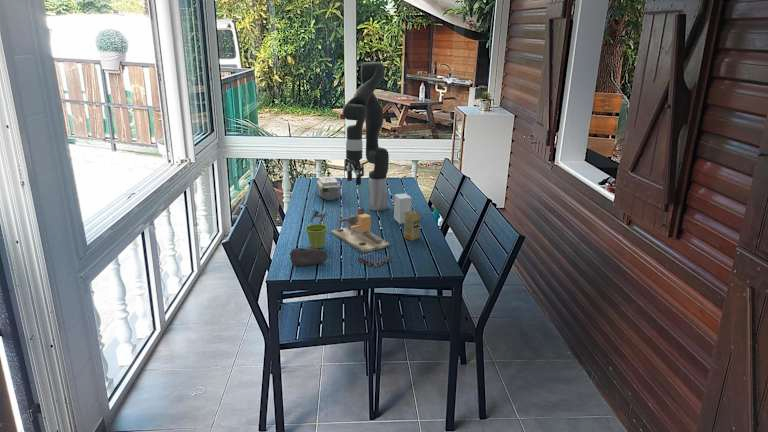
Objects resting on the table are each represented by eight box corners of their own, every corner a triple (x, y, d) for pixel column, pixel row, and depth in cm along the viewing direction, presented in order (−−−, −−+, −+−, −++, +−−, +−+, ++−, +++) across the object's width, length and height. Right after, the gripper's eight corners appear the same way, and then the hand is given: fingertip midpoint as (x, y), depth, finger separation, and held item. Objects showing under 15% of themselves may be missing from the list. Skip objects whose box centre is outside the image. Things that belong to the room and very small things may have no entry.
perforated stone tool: (327, 260, 210) (327, 244, 207) (328, 265, 205) (328, 249, 202) (290, 262, 207) (289, 246, 205) (290, 268, 202) (289, 252, 200)
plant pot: (318, 252, 217) (318, 233, 215) (301, 247, 222) (300, 228, 219) (332, 245, 225) (331, 226, 222) (315, 240, 230) (314, 222, 227)
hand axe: (346, 209, 272) (364, 207, 272) (346, 212, 273) (365, 210, 273) (341, 225, 247) (362, 223, 246) (342, 229, 247) (362, 227, 247)
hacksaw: (314, 212, 268) (314, 210, 267) (334, 213, 267) (334, 210, 267) (305, 229, 245) (305, 226, 244) (326, 229, 244) (326, 226, 244)
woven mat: (356, 261, 210) (356, 256, 209) (374, 254, 217) (374, 249, 216) (373, 269, 203) (373, 264, 202) (392, 261, 210) (392, 257, 209)
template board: (357, 227, 246) (357, 213, 244) (390, 246, 224) (390, 231, 222) (331, 232, 239) (331, 218, 237) (362, 252, 217) (362, 237, 215)
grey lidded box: (321, 202, 280) (320, 185, 278) (315, 191, 307) (314, 175, 304) (342, 201, 283) (342, 183, 280) (335, 190, 310) (334, 174, 307)
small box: (411, 222, 253) (412, 197, 249) (399, 224, 251) (400, 198, 247) (405, 217, 260) (405, 193, 256) (393, 218, 258) (394, 194, 254)
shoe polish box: (419, 237, 234) (420, 213, 230) (411, 240, 231) (412, 215, 227) (411, 235, 237) (411, 210, 233) (403, 237, 234) (404, 212, 230)
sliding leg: (366, 230, 236) (366, 213, 233) (370, 232, 233) (370, 216, 230) (348, 233, 231) (348, 217, 228) (353, 236, 228) (353, 219, 225)
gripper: (369, 150, 231) (368, 185, 236) (353, 145, 243) (353, 178, 248) (354, 151, 227) (354, 187, 232) (339, 146, 239) (339, 180, 244)
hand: (354, 182), depth 240 cm, fingers open, 8 cm apart
